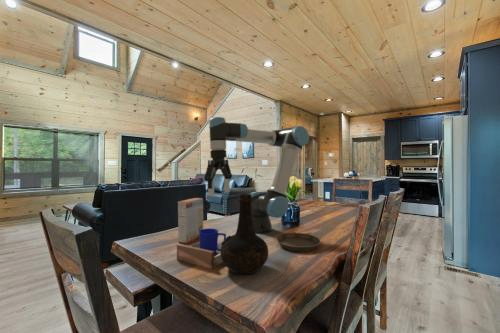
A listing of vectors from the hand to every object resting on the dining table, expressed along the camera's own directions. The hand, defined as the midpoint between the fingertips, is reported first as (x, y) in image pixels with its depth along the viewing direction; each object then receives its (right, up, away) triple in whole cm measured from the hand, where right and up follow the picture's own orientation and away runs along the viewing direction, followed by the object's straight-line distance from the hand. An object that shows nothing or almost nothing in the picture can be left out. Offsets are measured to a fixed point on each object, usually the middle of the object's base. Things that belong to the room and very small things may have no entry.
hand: (219, 193), depth 116 cm
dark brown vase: (+13, -25, -27) cm, 39 cm away
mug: (-2, -25, -12) cm, 28 cm away
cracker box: (-16, -25, +9) cm, 31 cm away
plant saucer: (+38, -26, 0) cm, 46 cm away
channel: (-3, -25, -15) cm, 29 cm away
